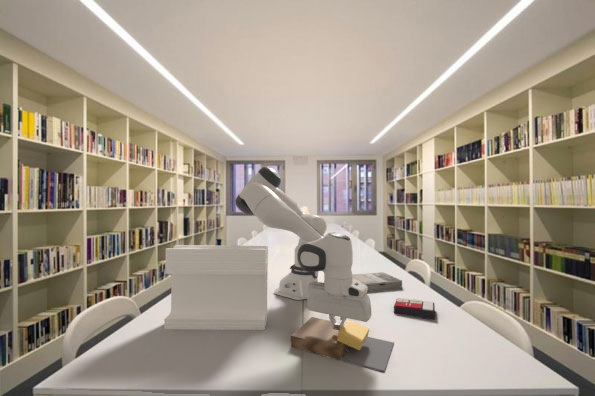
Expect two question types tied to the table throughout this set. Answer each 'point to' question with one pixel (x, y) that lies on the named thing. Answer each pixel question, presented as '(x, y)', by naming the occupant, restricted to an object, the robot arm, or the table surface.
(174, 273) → the block
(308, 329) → the panel
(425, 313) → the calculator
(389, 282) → the hard drive
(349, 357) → the mat
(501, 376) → the table surface
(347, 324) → the yellow rectangular block
